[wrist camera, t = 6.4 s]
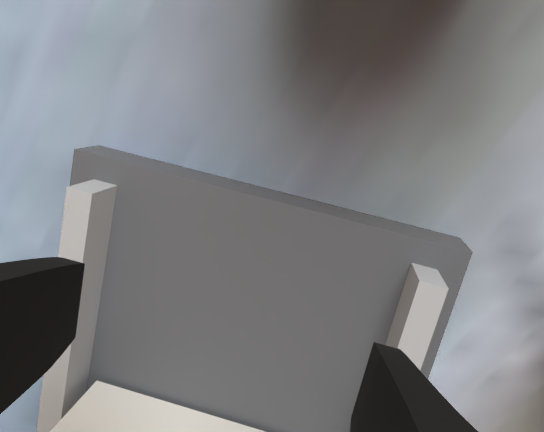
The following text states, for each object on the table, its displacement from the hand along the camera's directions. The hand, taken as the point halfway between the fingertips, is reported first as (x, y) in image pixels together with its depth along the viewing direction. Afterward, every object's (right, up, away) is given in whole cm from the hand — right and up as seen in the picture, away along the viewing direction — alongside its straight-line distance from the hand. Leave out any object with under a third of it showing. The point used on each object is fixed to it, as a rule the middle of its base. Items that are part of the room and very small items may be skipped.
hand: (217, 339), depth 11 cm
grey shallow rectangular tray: (-1, -5, +12) cm, 13 cm away
